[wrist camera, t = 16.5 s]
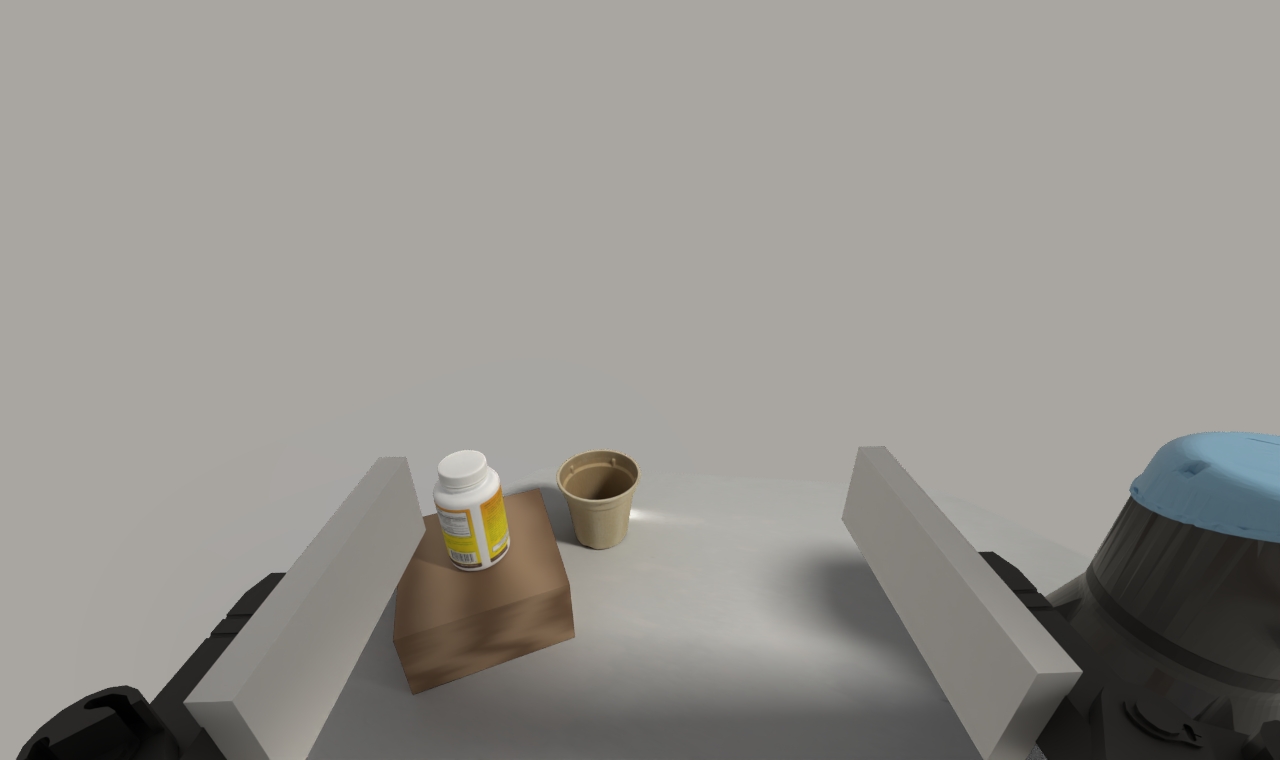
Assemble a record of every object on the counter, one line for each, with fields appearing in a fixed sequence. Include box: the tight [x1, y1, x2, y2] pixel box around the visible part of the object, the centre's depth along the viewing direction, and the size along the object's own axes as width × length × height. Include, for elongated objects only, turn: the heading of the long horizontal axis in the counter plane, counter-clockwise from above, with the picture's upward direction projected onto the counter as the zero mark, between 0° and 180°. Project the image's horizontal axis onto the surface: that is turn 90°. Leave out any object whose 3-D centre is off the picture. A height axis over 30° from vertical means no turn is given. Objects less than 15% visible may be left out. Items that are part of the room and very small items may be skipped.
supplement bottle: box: [433, 450, 510, 571], centre depth 42 cm, size 6×6×10 cm
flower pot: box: [556, 449, 641, 549], centre depth 54 cm, size 9×9×9 cm
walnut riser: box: [393, 489, 575, 695], centre depth 46 cm, size 14×14×7 cm
